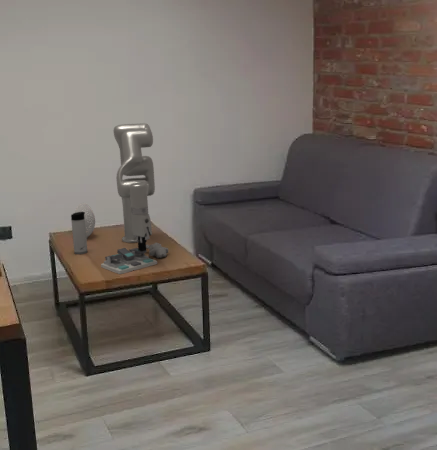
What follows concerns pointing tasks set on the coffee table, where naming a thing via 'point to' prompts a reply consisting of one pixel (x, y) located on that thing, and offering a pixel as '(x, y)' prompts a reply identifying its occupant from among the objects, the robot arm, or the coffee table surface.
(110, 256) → the rocker
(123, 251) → the rocker middle
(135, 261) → the switch unit
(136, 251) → the rocker nearest
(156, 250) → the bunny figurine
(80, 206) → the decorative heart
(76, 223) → the travel mug
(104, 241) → the coffee table surface
